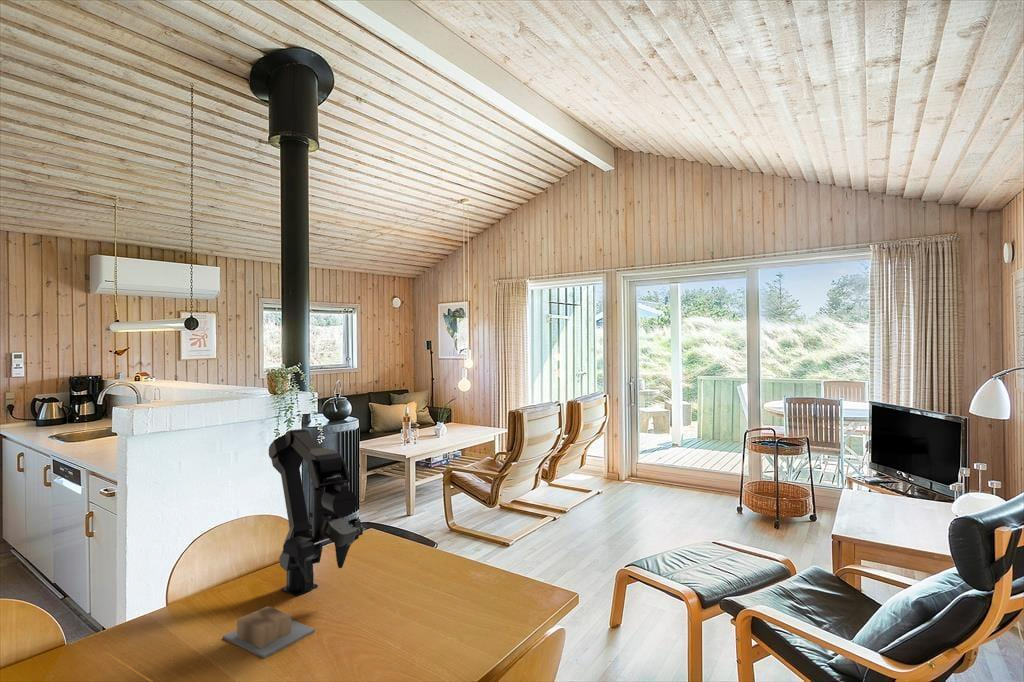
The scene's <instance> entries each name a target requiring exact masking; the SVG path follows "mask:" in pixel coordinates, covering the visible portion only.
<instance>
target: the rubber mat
mask: <svg viewBox="0 0 1024 682" xmlns="http://www.w3.org/2000/svg"><path fill="white" fill-rule="evenodd" d="M315 632H316V628H313V627H310V626H308V625H306V624H303V623H301V622H298V621H296V620H294V619H291V632H290V633H289V634H287V635H286V636H284V637H282V638H280V639H278V640H276V641H274V642H272V643H270V644H268V645H266V646H264V647H262V648H260V647H258V646H255V645H253V644H251V643H249V642H247V641H245V640H243V639H241V638H238V637H237V629H235V630H233V631H231V632H228V633H226V634H224V635H222V639H224V640H225V641H227V642H229V643H232V644H233V645H236V646H238V647H239V648H242V649H244V650H246V651H248V652H250V653H252V654H254V655H256V656H258V657H260V658H262V659H266V658H268V657H270V656H272V655H274V654H275V653H277V652H279V651H281V650H283V649H285V648H286V647H289V646H290V645H292V644H294V643H296V642H298V641H300V640H302V639H304V638H306V637H308V636H309V635H312V634H314V633H315Z"/></svg>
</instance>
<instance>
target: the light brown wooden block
mask: <svg viewBox="0 0 1024 682" xmlns="http://www.w3.org/2000/svg"><path fill="white" fill-rule="evenodd" d="M236 620H237V621H236V624H237V625H236V627H237V628H236V630H237V637H238V638H241V639H243V640H245V641H247V642H249V643H251V644H253V645H255V646H258V647H260V648H262V647H264V646H266V645H268V644H270V643H272V642H274V641H276V640H278V639H280V638H282V637H284V636H286V635H287V634H289V633H290V632H291V620H292V615H291V614H290V613H286V612H284V611H281V610H279V609H276V608H274V607H271V606H268V605H267V606H265V607H262V608H260V609H258V610H256V611H253V612H251V613H249V614H246V615H244V616H242V617H239V618H238V619H236Z"/></svg>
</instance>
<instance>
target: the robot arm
mask: <svg viewBox="0 0 1024 682" xmlns="http://www.w3.org/2000/svg"><path fill="white" fill-rule="evenodd" d="M268 457H269V458H270V460H271V464H272V467H273V468H274V469H275V470H276V471H277V472H278V473H279V474H280V476H281V477H280V478H281V483H282V488H283V489H282V490H283V496H284V502H285V508H286V514H287V521H288V525H289V526H288V527H289V529H288V533H287V535H286V537H285V539H284V543H283V544H282V545H283V546H282V552H280V553H281V554H280V555H279V559H278V560H279V566H280V567H281V568H282V569H283V570H284V571H286V585H284V586H283V587H281V588H280V591H282V592H284V593H287V594H290V595H291V596H295V597H298V596H301V595H303V594H305V593H308V592H310V591H312V590H314V589H316V588H318V587H319V585H318V584H317V583H315V581H314V576H315V575H314V574H315V573H314V564H320V563H321V559H322V552H323V547H324V546H323V543H326V542H327V541H331V542H332V543H334V549H335V556H336V557H335V558H336V565H337V568H338V569H343V566H344V564H345V562H346V558H347V555H348V552H349V551H350V548H351V546H352V544H353V543H354V542H355V541H357V540H359V538H360V537H359V536H363V534H364V533H363V532H364V531H363V530H364V527H363V525H362V522H361V518H359V517H354V518H351V519H346V520H345V519H344V517H348V516H350V515H351V514H352V513H353V512H354V511H355V510H356V507H357V505H358V498H357V496H356V494H355V493H354V492H353V491H352V490H350V485H349V483H351V479H350V476H351V475H350V471H349V470H348V467H347V464H346V462H345V459H344V457H343V456H342V454H341V453H340V452H339V451H337V450H334V449H329V448H325V447H324V446H322V445H321V444H320V443H319V442H318V441H317V440H316V439H315V438H314V437H312V435H310V432H309V430H308V429H305V428H298V429H290V430H288V431H286V432H285V433H284V434H283V435H280V436H279V437H277V438H275V439H273V441H272V443H270V445H269V447H268ZM303 461H305V462H306V464H307V467H306V471H307V473H308V476H309V478H310V479H311V482H310V485H311V486H312V510H311V511H309V512H308V508H307V503H306V496H305V493H304V486H303V480H302V474H301V466H302V463H303ZM309 517H310V518H312V519H311V520H312V521H311V522H312V523H310V520H309Z"/></svg>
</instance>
